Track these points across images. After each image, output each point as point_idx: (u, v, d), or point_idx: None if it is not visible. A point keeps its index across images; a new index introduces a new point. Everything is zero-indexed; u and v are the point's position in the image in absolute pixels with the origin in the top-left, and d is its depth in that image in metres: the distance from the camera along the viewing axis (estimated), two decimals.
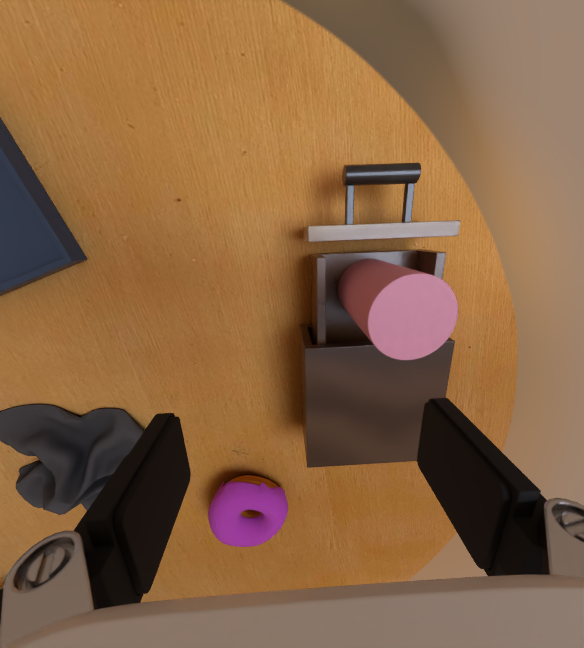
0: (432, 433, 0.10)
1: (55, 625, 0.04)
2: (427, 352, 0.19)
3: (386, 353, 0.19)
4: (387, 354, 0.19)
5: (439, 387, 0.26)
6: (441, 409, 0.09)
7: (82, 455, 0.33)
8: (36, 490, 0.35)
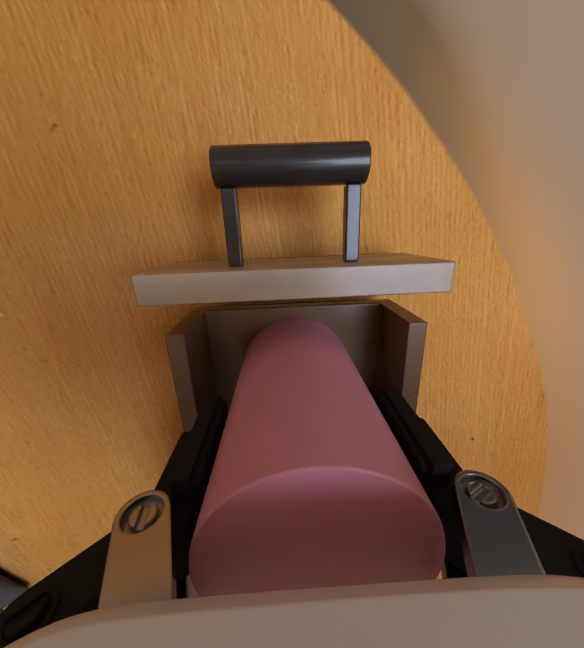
0: None
1: (55, 625, 0.04)
2: None
3: None
4: None
5: None
6: (389, 397, 0.10)
7: None
8: None
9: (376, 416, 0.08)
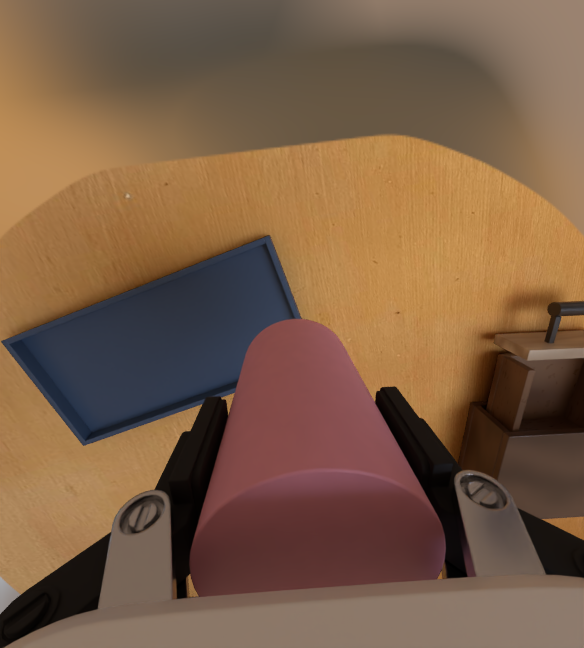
0: None
1: (55, 625, 0.04)
2: None
3: None
4: None
5: None
6: (389, 397, 0.10)
7: None
8: None
9: (376, 418, 0.08)
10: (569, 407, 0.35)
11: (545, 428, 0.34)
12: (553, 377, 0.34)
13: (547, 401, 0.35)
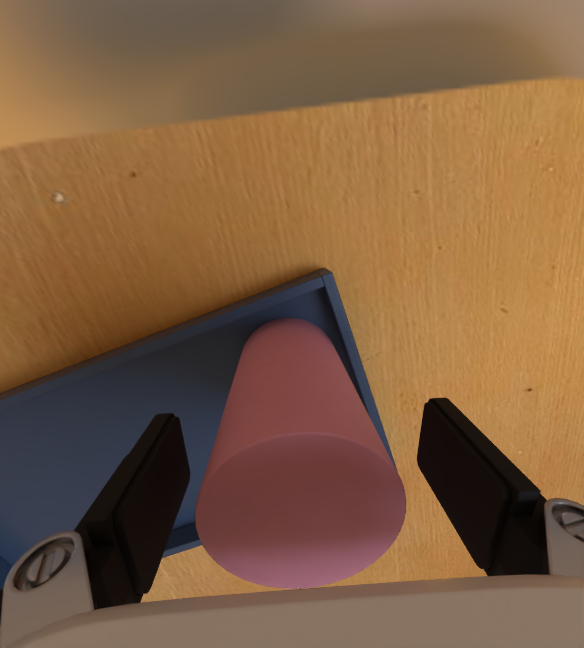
0: (432, 433, 0.10)
1: (55, 625, 0.04)
2: (344, 574, 0.09)
3: (253, 580, 0.08)
4: (256, 581, 0.08)
5: None
6: (441, 409, 0.09)
7: None
8: None
9: (353, 399, 0.09)
10: None
11: None
12: None
13: None
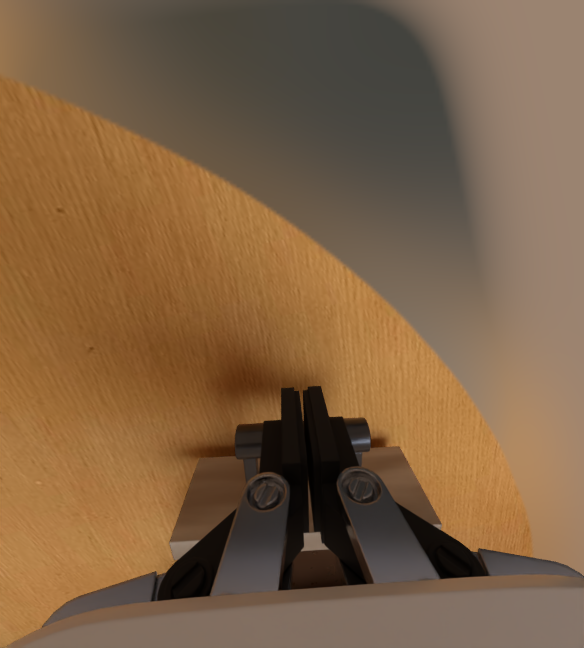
0: (304, 417, 0.11)
1: (55, 625, 0.04)
2: None
3: None
4: None
5: None
6: (311, 396, 0.10)
7: None
8: None
9: None
10: None
11: None
12: None
13: (329, 567, 0.19)
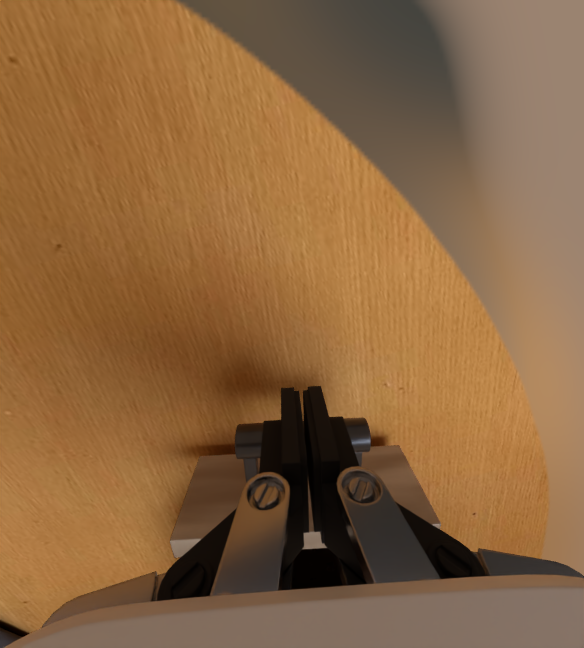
0: (304, 417, 0.11)
1: (55, 625, 0.04)
2: None
3: None
4: None
5: None
6: (311, 396, 0.10)
7: None
8: None
9: None
10: None
11: None
12: None
13: (329, 563, 0.19)
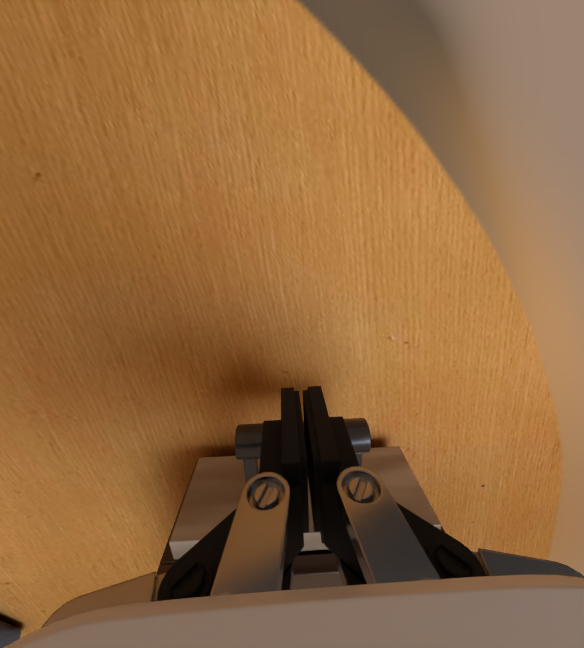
0: (304, 417, 0.11)
1: (55, 625, 0.04)
2: None
3: None
4: None
5: None
6: (311, 396, 0.10)
7: None
8: None
9: None
10: None
11: None
12: None
13: None
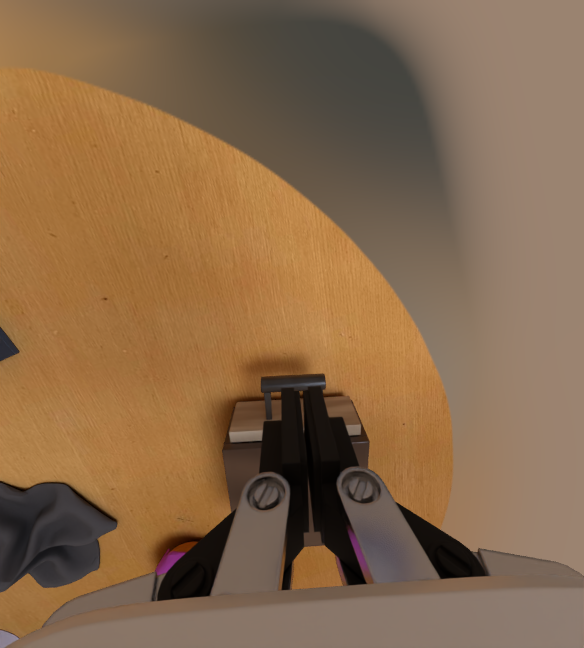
0: (304, 417, 0.11)
1: (55, 625, 0.04)
2: None
3: None
4: None
5: None
6: (312, 396, 0.10)
7: (26, 527, 0.34)
8: None
9: None
10: None
11: None
12: None
13: None
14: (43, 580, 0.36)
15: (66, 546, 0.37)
